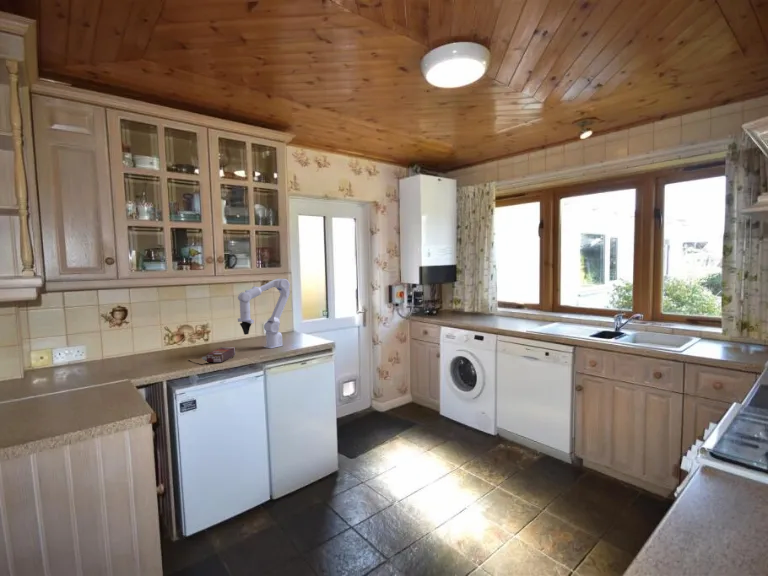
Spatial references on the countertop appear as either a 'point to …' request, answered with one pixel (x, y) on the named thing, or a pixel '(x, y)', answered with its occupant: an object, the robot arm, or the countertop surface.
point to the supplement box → (220, 354)
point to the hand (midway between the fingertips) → (246, 334)
